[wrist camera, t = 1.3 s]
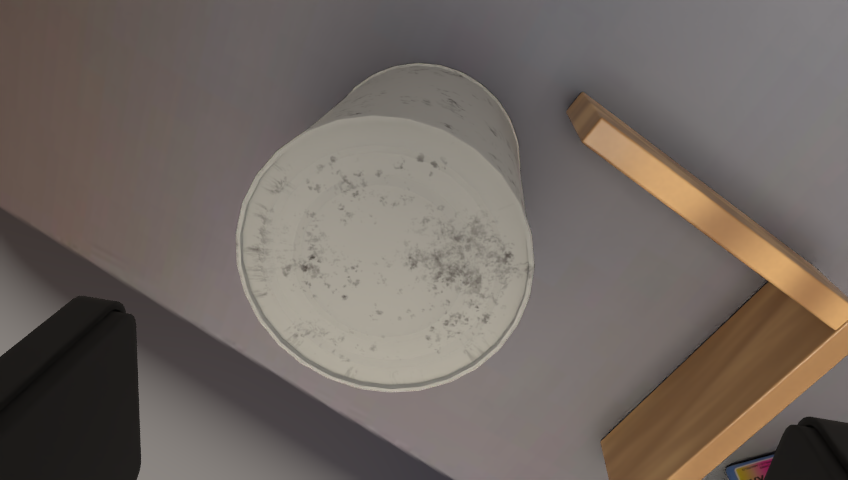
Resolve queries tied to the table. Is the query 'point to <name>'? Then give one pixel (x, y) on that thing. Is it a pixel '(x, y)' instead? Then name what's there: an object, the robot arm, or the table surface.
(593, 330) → the table surface
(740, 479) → the ink cartridge box
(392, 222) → the grey speckled cylinder
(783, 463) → the robot arm
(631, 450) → the corner stop
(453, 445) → the table surface
